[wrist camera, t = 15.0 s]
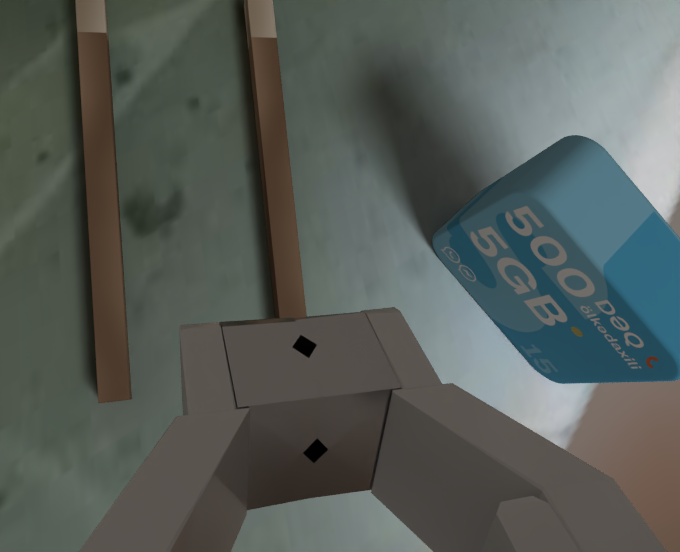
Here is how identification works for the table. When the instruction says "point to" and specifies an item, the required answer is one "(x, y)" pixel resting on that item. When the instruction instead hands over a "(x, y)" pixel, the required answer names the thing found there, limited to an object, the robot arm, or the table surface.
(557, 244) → the data package
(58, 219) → the table surface
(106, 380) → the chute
